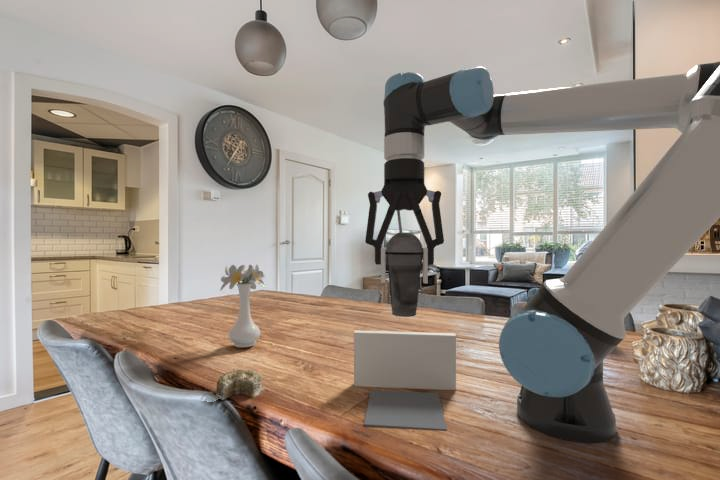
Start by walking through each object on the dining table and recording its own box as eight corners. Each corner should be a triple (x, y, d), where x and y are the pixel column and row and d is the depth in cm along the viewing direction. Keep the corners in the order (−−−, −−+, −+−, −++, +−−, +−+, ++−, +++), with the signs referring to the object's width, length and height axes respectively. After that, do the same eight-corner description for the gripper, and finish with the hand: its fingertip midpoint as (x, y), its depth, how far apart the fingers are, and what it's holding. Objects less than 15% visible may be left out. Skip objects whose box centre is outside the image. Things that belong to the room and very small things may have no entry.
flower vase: (263, 334, 122) (263, 261, 121) (266, 351, 104) (266, 265, 104) (222, 338, 118) (222, 262, 117) (219, 355, 100) (218, 266, 100)
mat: (438, 397, 74) (438, 393, 74) (446, 433, 60) (446, 429, 60) (370, 393, 75) (370, 389, 75) (363, 428, 62) (363, 424, 62)
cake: (214, 388, 79) (214, 364, 79) (260, 381, 83) (260, 358, 83) (214, 408, 70) (214, 380, 70) (267, 399, 73) (267, 373, 73)
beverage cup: (423, 319, 63) (423, 206, 63) (382, 317, 65) (382, 207, 65) (424, 311, 71) (424, 209, 70) (387, 309, 72) (387, 210, 72)
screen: (454, 387, 78) (454, 333, 78) (456, 391, 76) (456, 335, 76) (355, 383, 81) (355, 330, 81) (353, 386, 79) (353, 332, 79)
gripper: (455, 163, 70) (455, 280, 70) (354, 166, 72) (354, 279, 73) (461, 154, 63) (461, 285, 63) (348, 158, 65) (348, 284, 65)
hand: (404, 282), depth 68 cm, fingers closed on beverage cup, 7 cm apart
